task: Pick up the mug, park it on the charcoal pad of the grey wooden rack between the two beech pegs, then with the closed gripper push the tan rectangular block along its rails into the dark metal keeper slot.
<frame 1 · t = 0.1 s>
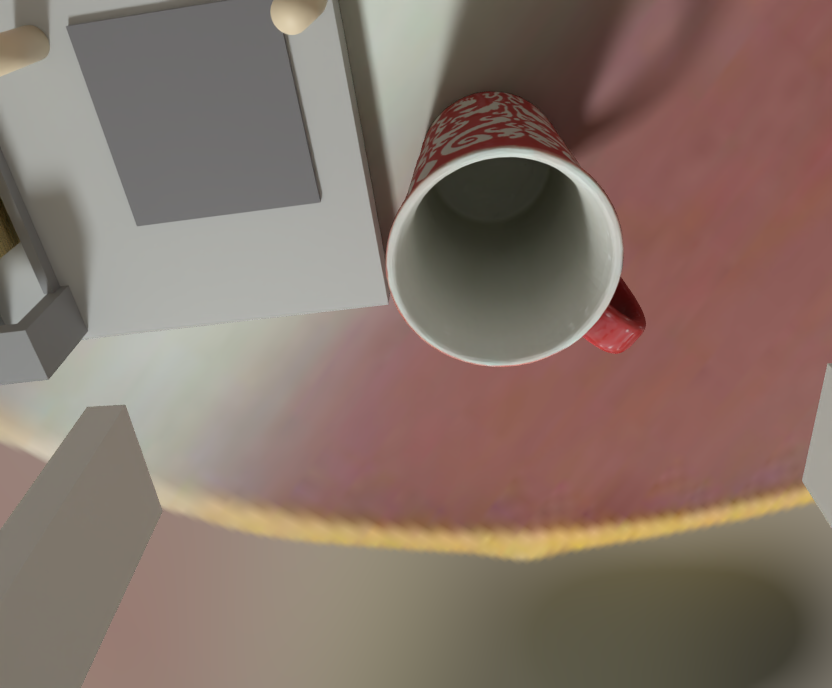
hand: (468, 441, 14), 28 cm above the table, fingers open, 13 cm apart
mug: (511, 180, 41), on the table
rack: (151, 156, 40), on the table
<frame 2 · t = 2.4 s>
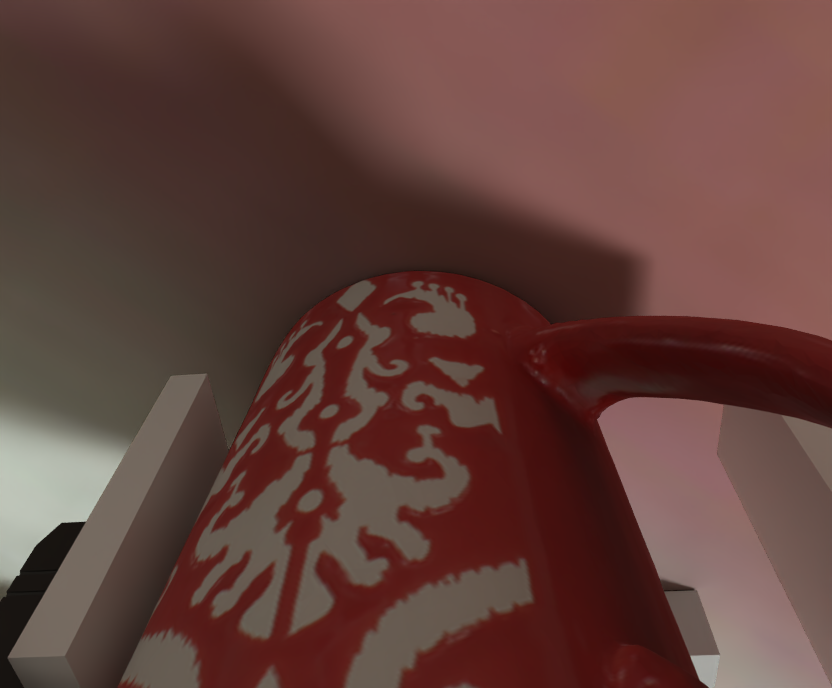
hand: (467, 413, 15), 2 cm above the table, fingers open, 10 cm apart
mug: (477, 361, 17), on the table, touching gripper
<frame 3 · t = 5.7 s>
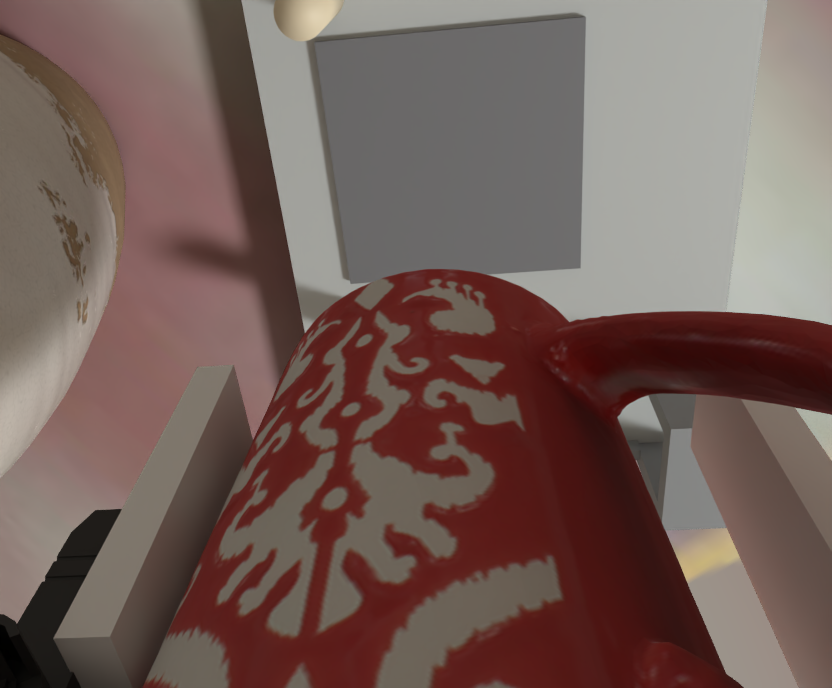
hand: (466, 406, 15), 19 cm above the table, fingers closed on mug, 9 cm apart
mug: (494, 359, 17), point 17 cm above the table, touching gripper
rack: (506, 231, 34), on the table
white ceramic vase: (15, 154, 33), on the table
when the fingers open (5 cm above the table, at t = 8.7 s): mug drops 2 cm, resting on rack.
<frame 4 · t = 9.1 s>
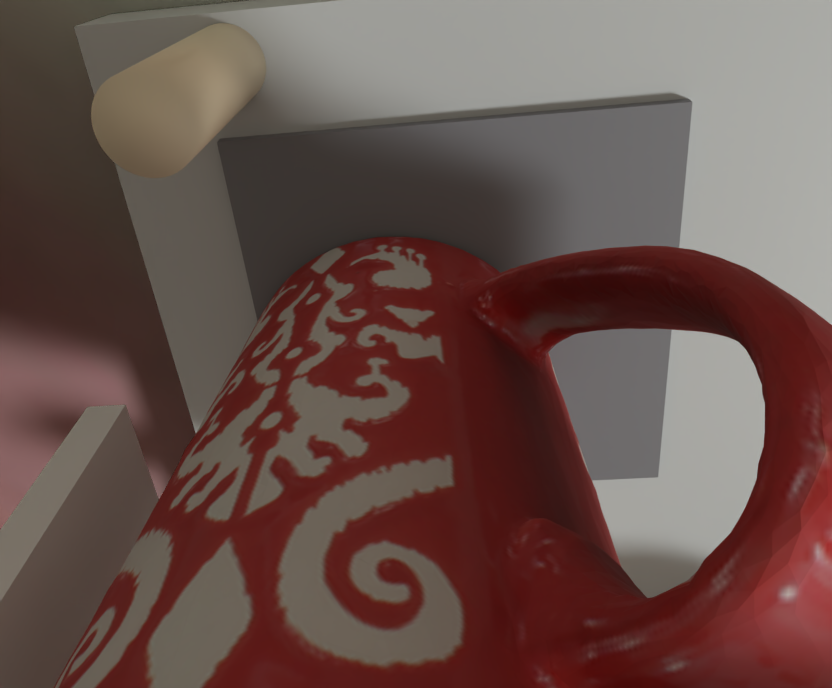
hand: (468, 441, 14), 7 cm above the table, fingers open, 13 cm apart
mug: (446, 320, 18), point 2 cm above the table, touching rack
rack: (537, 404, 22), on the table
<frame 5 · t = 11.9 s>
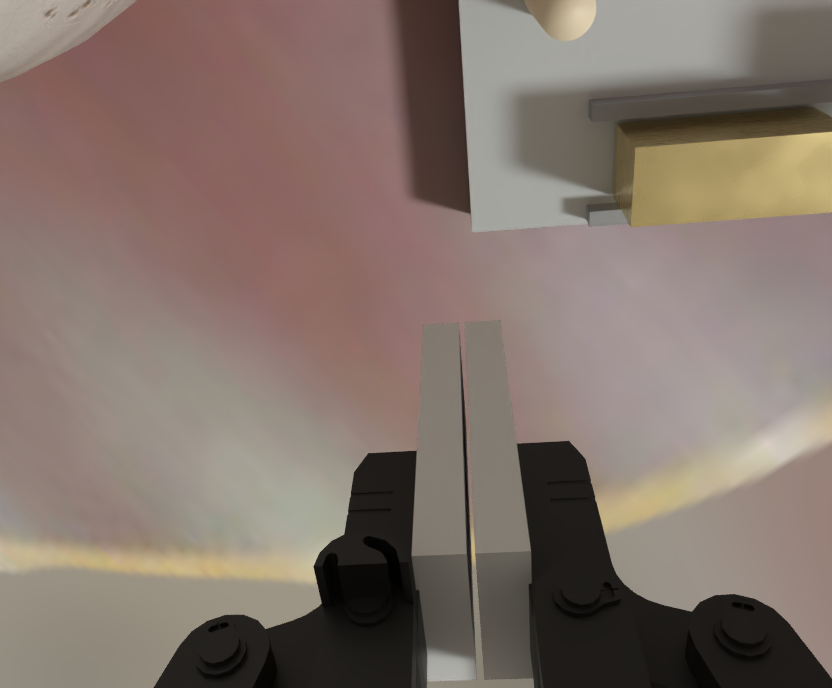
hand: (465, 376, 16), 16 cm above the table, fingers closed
tan rectangular block: (723, 165, 27), point 4 cm above the table, slide at 0.0 cm
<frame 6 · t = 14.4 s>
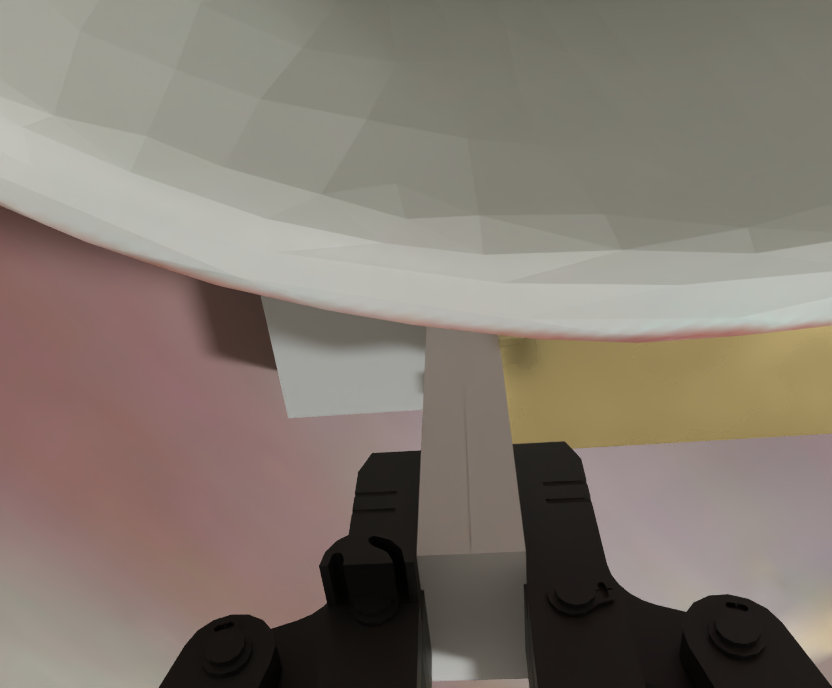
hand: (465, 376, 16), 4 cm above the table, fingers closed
tan rectangular block: (657, 346, 16), point 4 cm above the table, slide at 0.0 cm, touching gripper
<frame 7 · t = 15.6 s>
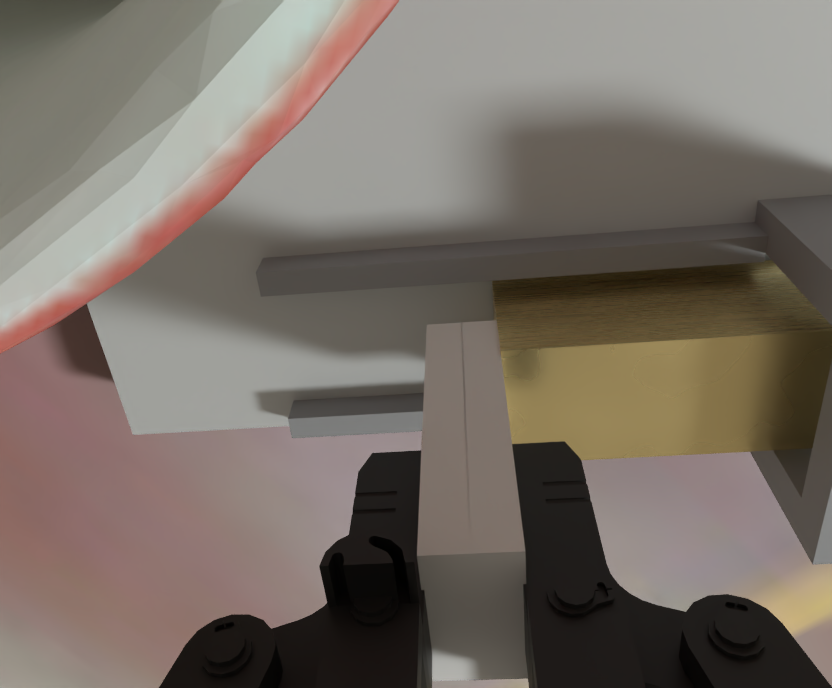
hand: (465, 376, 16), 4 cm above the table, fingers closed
tan rectangular block: (659, 358, 16), point 4 cm above the table, slide at 4.2 cm, touching gripper
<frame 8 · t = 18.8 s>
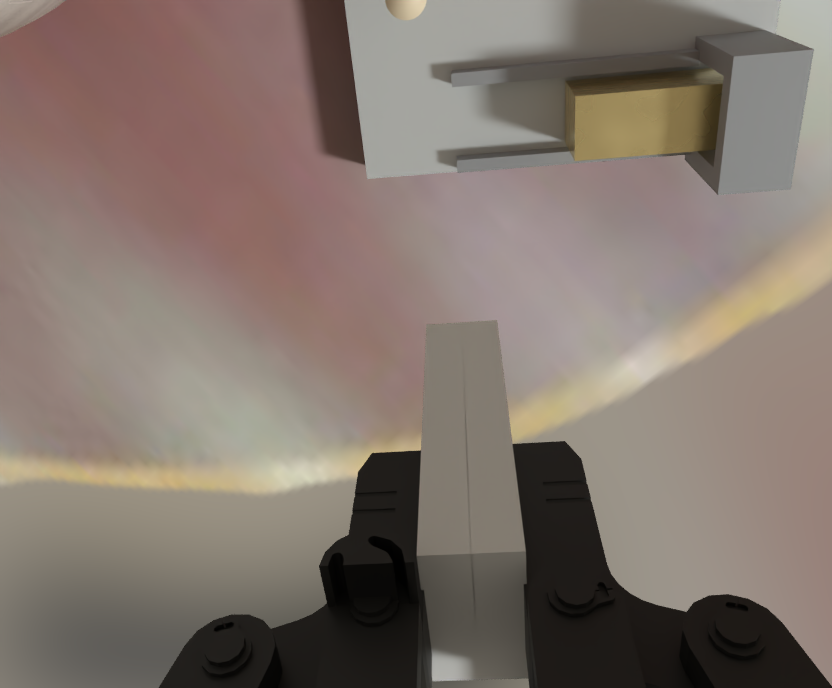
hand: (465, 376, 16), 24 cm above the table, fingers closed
tan rectangular block: (648, 113, 34), point 4 cm above the table, slide at 4.2 cm
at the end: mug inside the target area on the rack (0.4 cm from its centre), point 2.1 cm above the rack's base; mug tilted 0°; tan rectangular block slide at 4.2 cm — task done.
